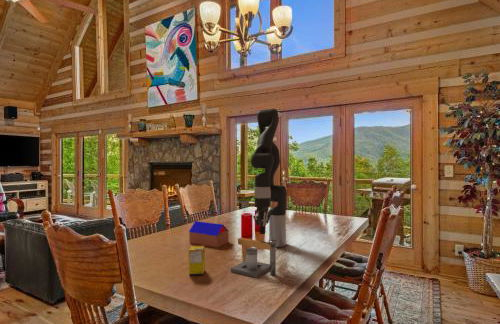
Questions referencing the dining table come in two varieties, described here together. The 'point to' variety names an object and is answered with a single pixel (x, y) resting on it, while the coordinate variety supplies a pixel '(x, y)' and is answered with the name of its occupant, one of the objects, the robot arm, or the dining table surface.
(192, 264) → the supplement box
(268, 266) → the socket collar
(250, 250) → the plug
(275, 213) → the robot arm
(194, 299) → the dining table surface
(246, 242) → the gate
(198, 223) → the house
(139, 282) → the dining table surface
